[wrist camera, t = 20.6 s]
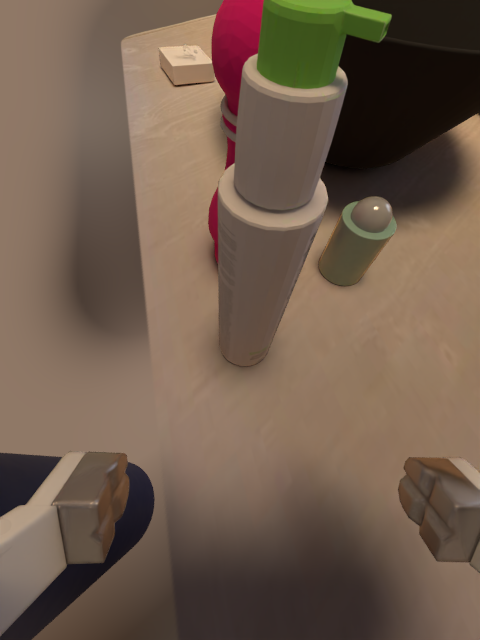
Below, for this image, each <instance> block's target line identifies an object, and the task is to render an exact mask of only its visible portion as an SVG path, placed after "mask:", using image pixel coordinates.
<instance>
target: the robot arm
mask: <svg viewBox="0 0 480 640" xmlns="http://www.w3.org/2000/svg"><path fill="white" fill-rule="evenodd" d="M127 465H128V461H127V455H126V454H125V453H106V452H72V451H71V452H68V453H67V454H65V455H64V456H63V458H62V459H61V460H60V461H59V463H58V464H57V465H56V467H55V468H54V469H53V471H52V472H51V473H50V474H49V476H48V477H47V478H46V480H45V481H44V482H43V484H42V485H41V486H40V487H39V489H38V490H37V491H36V493H35V494H34V495H33V497H32V498H31V499H30V500H29V502H28V503H27V504H26V505H21V506H18V507H16V508H15V509H13V510H11V511H10V512H8V513H7V514H5V515H4V516H2V517H0V636H1V635H2V634H3V633H4V632H5V631H6V630H7V629H8V628H9V627H10V626H11V625H12V624H13V622H14V621H15V620H16V619H17V618H18V617H19V616H20V615H21V614H22V613H23V612H24V611H25V610H26V609H27V608H28V607H29V606H30V605H31V604H32V603H33V602H34V601H35V599H36V598H37V597H38V596H39V595H40V594H41V593H42V592H43V591H44V590H45V589H46V588H47V587H48V586H49V585H50V584H51V583H52V582H53V581H54V580H55V579H56V578H57V576H58V575H59V574H60V573H61V572H62V571H63V570H64V569H65V568H66V567H67V564H84V563H104V561H105V559H106V556H107V553H108V551H109V548H110V546H111V543H112V541H113V538H114V536H115V527H114V523H115V522H116V521H118V520H119V519H120V518H121V517H122V515H123V512H124V510H125V507H126V503H127V499H128V494H129V477H128V476H127V475H126V474H125V473H124V472H125V470H126V468H127ZM404 470H405V472H406V475H405V476H404V477H403V478H402V479H401V480H400V483H399V488H398V492H399V499H400V502H401V505H402V507H403V509H404V511H405V512H406V514H407V516H408V517H409V518H410V519H411V520H412V521H414V522H415V523H416V524H418V525H419V534H420V536H421V538H422V539H423V541H424V542H425V544H426V545H427V547H428V548H429V550H430V551H431V553H432V555H433V556H434V558H435V559H436V561H439V562H470V565H471V566H472V567H473V568H474V569H475V570H477V571H478V572H479V573H480V473H479V472H478V471H477V470H476V469H475V468H474V467H473V466H472V465H471V464H470V463H469V462H468V461H466V460H464V459H462V458H460V457H443V458H425V457H409V458H408V459H407V460H406V461H405V465H404Z"/></svg>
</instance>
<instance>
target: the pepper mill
mask: <svg viewBox="0 0 480 640" xmlns="http://www.w3.org/2000/svg"><path fill="white" fill-rule="evenodd" d="M263 2H264V0H224V1H223V3H222V5H221V7H220V9H219V11H218V12H217V15H216V19H215V23H214V27H213V34H212V65H213V69H214V73H215V77H216V79H217V81H218V83H219V85H220V87H221V88H222V89H223V91H224V92H225V94H226V95H225V96H224V97H223V99H222V101H221V111H222V113H223V114H222V117H221V127H222V130H223V132H224V133H225V134H226V136H227V144H228V151H227V160H226V167H225V170H226V169H227V168H228V167H230V166H231V165H233V164H234V163H235V145H236V129H237V117H238V106H239V97H240V88H241V78H242V69H243V66H244V64H245V62H246V61H247V60H248V59H249V58H250V57H251V56H253V55H255V54H257V53H258V49H259V39H260V30H261V20H262V11H263ZM224 172H225V171H224ZM208 224H209V230H210V233H211V235H212V238H213V239H214V240H215V258H216V261H217V263H218V188H217V190H216V192H215V194H214V196H213V198H212V201H211V205H210V208H209V221H208Z"/></svg>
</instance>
